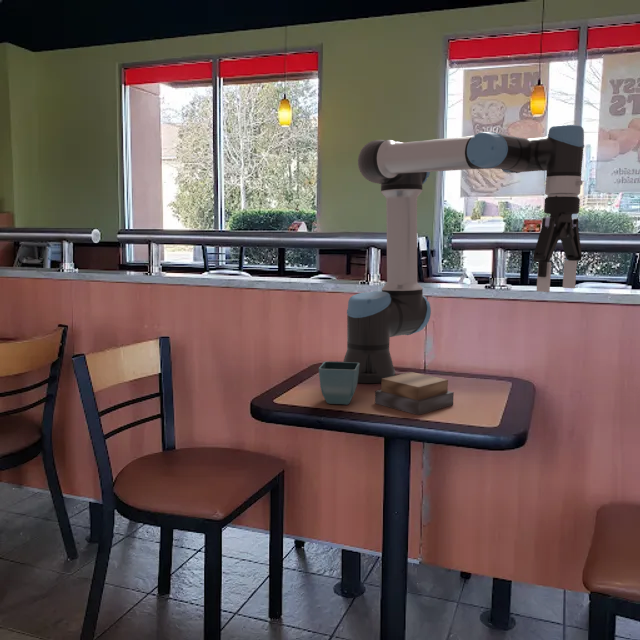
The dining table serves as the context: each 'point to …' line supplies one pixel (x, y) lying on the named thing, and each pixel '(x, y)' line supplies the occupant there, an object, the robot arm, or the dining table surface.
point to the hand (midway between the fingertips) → (556, 289)
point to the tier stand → (414, 393)
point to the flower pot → (338, 381)
